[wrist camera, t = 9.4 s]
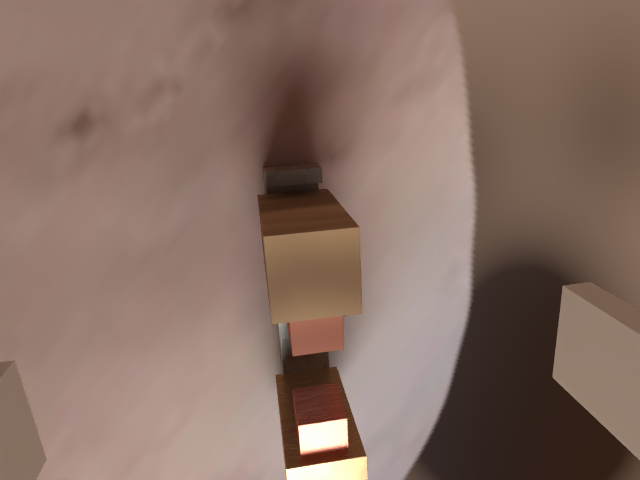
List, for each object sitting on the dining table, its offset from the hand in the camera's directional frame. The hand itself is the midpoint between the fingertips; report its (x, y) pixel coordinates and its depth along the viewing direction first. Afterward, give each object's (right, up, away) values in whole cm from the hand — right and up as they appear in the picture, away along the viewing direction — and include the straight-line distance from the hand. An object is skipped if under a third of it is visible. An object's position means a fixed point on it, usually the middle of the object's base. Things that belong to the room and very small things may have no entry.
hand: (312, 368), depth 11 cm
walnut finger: (-1, +4, +16) cm, 17 cm away
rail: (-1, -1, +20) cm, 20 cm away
